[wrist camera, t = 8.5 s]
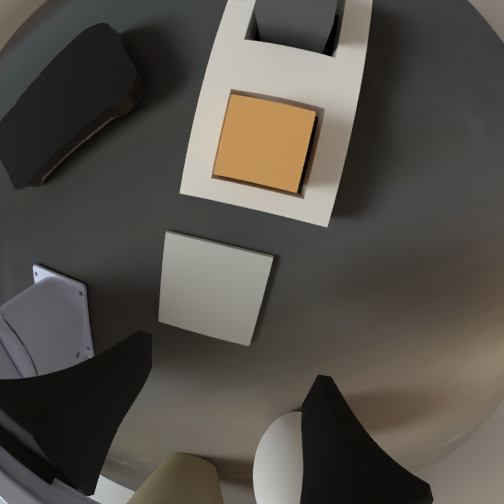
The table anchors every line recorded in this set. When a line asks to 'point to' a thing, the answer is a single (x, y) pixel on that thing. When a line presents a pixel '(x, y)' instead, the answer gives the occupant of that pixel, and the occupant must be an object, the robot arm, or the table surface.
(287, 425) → the sauce bottle
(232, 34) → the white slotted board
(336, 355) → the table surface
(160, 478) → the plant pot
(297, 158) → the orange plug
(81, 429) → the robot arm
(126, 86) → the black sponge
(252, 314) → the grey mat
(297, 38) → the dark grey block
